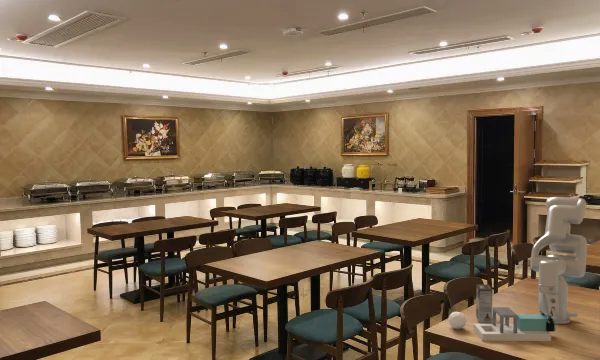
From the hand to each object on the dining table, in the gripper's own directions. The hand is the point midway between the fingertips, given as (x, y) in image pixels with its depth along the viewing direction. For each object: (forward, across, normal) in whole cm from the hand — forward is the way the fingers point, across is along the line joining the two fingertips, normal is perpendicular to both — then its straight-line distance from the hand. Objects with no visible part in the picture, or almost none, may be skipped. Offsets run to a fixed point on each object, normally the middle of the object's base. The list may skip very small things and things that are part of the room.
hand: (547, 328), depth 213 cm
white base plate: (+3, 0, +16) cm, 16 cm away
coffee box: (+3, +20, +21) cm, 29 cm away
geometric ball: (+3, +8, +37) cm, 38 cm away
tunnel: (0, 0, +19) cm, 19 cm away
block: (0, 0, +5) cm, 5 cm away
